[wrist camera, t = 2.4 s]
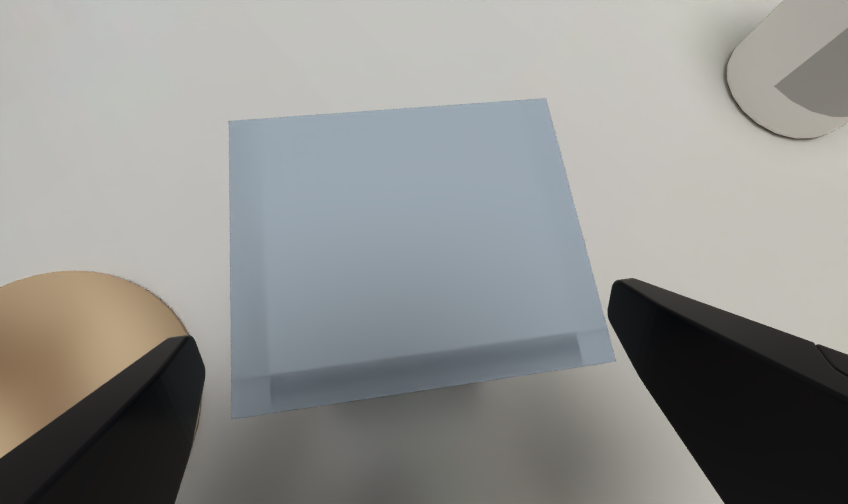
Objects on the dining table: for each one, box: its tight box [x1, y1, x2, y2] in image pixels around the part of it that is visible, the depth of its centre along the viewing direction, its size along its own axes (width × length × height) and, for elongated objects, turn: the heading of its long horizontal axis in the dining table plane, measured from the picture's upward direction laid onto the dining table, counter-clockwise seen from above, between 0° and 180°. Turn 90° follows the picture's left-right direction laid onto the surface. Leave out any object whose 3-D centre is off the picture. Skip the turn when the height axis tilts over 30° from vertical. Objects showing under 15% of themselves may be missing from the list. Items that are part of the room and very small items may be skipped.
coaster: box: [0, 271, 201, 458], centre depth 16 cm, size 11×11×1 cm
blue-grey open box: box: [229, 98, 616, 419], centre depth 13 cm, size 6×6×11 cm
